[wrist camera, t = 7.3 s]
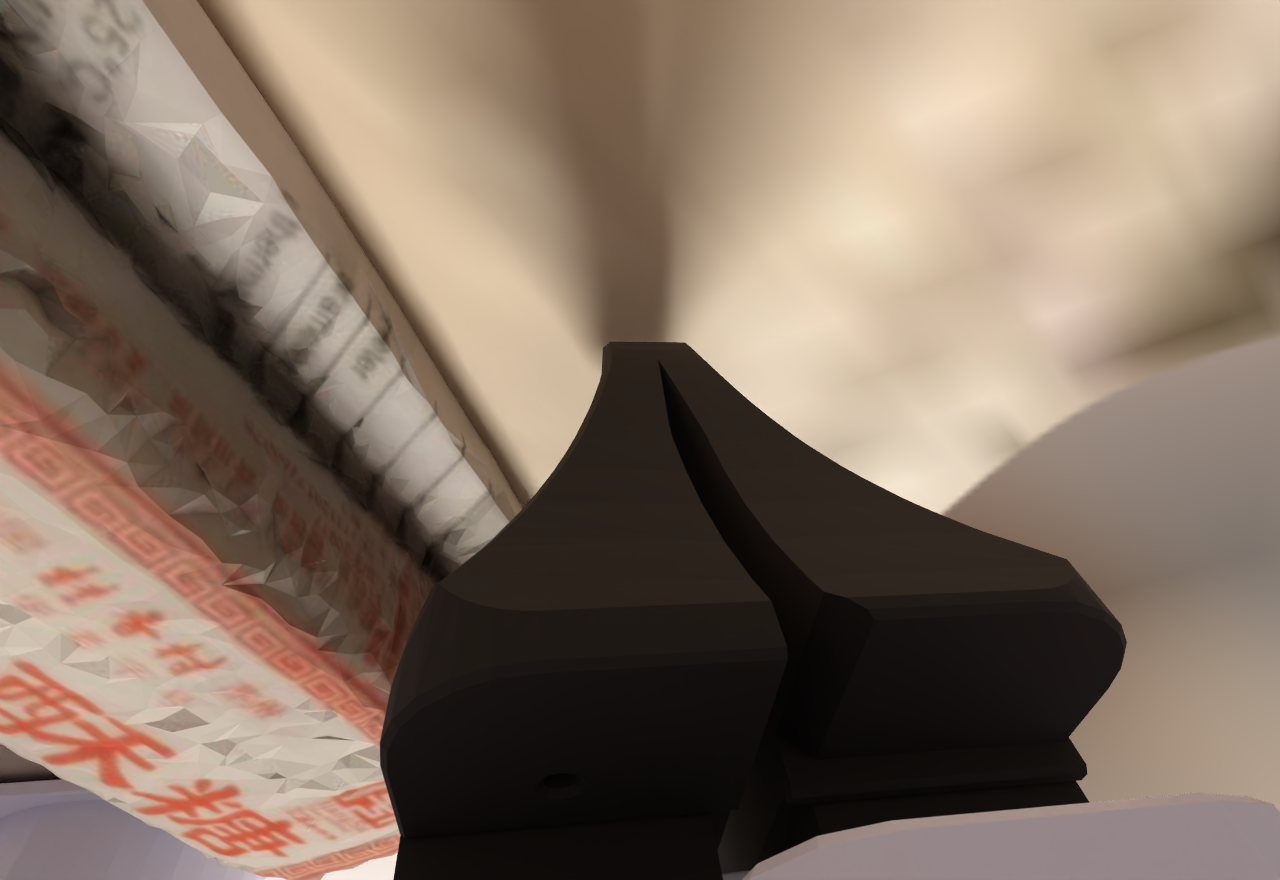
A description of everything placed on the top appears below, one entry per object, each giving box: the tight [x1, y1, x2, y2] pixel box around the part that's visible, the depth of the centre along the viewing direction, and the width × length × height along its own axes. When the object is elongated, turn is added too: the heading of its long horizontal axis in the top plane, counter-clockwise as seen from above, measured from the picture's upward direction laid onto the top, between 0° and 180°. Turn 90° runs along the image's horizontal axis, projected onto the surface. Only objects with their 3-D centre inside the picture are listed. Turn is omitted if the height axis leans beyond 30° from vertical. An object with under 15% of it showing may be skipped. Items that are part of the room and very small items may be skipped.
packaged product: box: [0, 0, 523, 880], centre depth 10 cm, size 18×5×10 cm
